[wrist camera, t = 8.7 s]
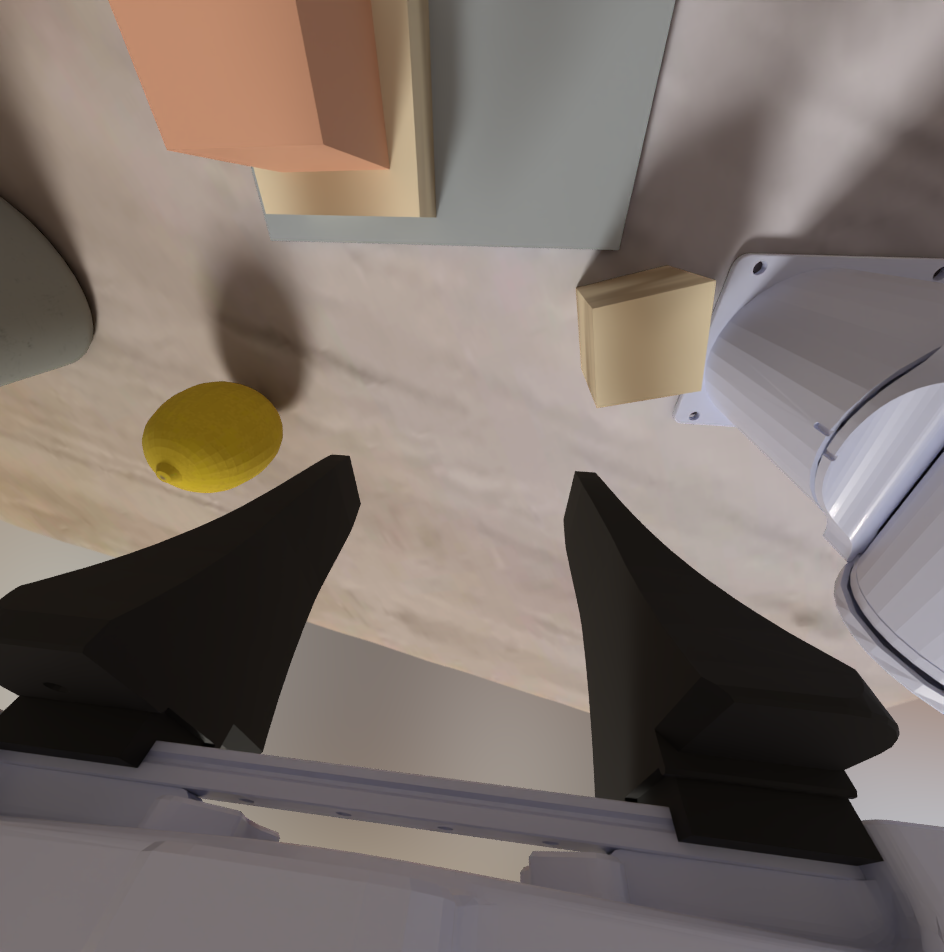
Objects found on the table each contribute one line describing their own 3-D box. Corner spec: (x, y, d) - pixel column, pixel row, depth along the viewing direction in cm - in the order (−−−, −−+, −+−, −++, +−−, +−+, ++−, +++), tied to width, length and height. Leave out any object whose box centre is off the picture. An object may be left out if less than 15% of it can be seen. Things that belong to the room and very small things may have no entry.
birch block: (667, 265, 16) (716, 280, 12) (661, 352, 18) (700, 390, 14) (575, 287, 17) (592, 308, 13) (581, 368, 19) (596, 407, 15)
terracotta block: (368, -22, 10) (257, -195, 6) (390, 169, 12) (323, 144, 8) (235, -12, 10) (44, -164, 6) (282, 172, 12) (167, 149, 8)
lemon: (203, 367, 21) (68, 429, 15) (283, 358, 20) (175, 421, 14) (248, 443, 25) (152, 521, 18) (319, 439, 24) (244, 520, 17)
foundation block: (428, -8, 11) (403, -68, 9) (436, 217, 15) (419, 217, 13) (258, -2, 12) (192, -57, 10) (305, 214, 16) (265, 214, 13)
